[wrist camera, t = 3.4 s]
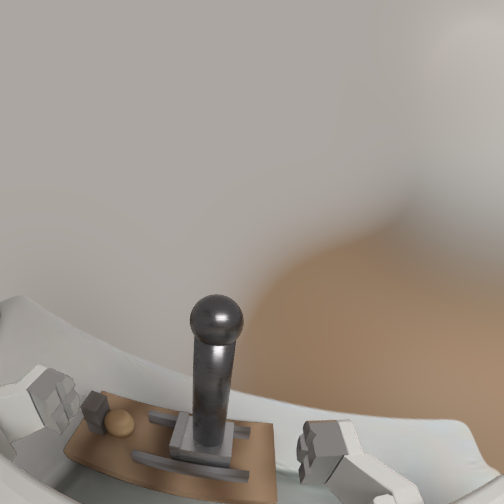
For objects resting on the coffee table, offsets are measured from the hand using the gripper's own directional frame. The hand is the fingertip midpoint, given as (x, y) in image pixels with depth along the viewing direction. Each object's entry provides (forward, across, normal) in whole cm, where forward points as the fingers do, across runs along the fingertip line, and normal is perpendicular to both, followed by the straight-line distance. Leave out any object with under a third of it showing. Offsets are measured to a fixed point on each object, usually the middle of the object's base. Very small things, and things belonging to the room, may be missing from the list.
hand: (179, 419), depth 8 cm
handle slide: (+12, +1, +20) cm, 23 cm away
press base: (+12, +4, +21) cm, 25 cm away
